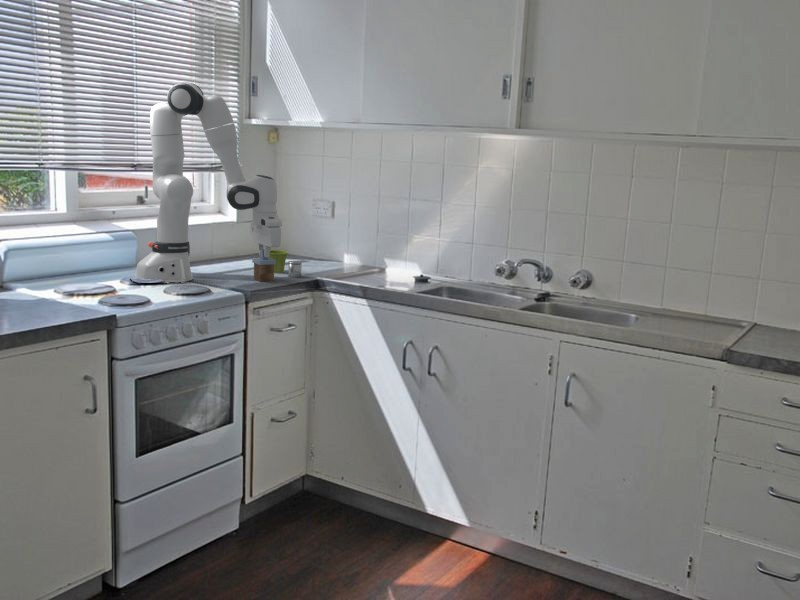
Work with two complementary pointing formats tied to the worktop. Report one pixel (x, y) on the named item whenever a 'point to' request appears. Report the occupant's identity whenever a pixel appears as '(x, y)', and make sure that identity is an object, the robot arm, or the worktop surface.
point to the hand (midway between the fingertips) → (264, 256)
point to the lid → (263, 259)
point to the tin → (294, 269)
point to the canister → (264, 272)
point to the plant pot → (278, 260)
